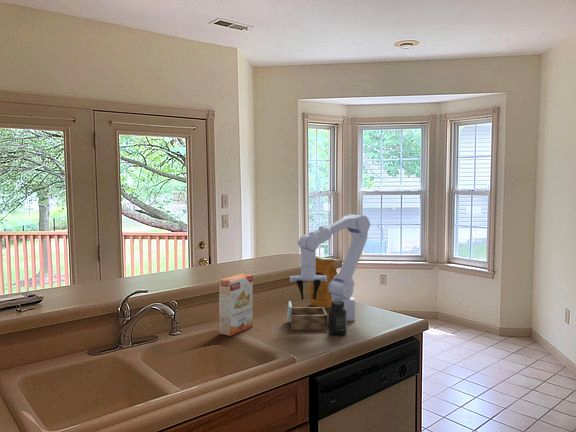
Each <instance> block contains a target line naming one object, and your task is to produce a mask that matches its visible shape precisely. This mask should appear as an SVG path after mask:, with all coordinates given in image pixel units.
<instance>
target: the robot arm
mask: <svg viewBox="0 0 576 432" xmlns="http://www.w3.org/2000/svg"><path fill="white" fill-rule="evenodd" d="M370 227H371V222H370V220H369V217H368V216H367V215H365V214H363V215H361V214H353V213H349V214H347V215H344V216H342V218H340V219H339V220H337V221H335V222H333V223H332V224H330V225H329V226H324V225H323V226H322V225H320V226H319V227H318V228H317V229H316V230H313V231H309V234H302V235H301V236H300V238H299V239H298V242H297V245H298V247H299V248H300V275H290V276H289V282H291V283H293V282H296V285H297V287H298V289H299V293H300V297H301V301H304V298H305V297H304V282H310V281H313V287H314V291H313V299H314V300H315V298H316V293H317V291H318V288H319V286H320V284H321V282H320V281H327V276H322V275H316V257H317V256H316V251H317V249H318V248H319V245H321V244H323V243H325V242H327V241H329V240H331V238H332V236H333V235H334V234H336V233H338V232H340V231H343V230H344V229H346V230H347V231H348V232H349V233H350V235H351V237H352V241H351V243H350V245H349V249H348V250H347V252H346V253H347V254H346V255H345V258H344V261H343V263H342V265H341V268H340V270H339V272H337V275H335V276H334V278H333V280H332V281H331V282H330V283H329V286H328V290H329V292H330V293H331V296H332V301H342V302H344V309H345V310H346V311H347V322H353V321H354V322H355V321H356V301H355V297H353V296H352V295H353V293H354V286H355V281H354V278H353V275H354V274H355V270H356V268H357V266H358V263H359V261H360V259H361V256H362V253H363V250H364V248H365V245H366V243H367V241H368V235H369V234H368V232H369V230H370Z"/></svg>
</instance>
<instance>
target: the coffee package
mask: <svg viewBox="0 0 576 432" xmlns="http://www.w3.org/2000/svg"><path fill="white" fill-rule="evenodd" d="M335 262H336V260H335V259H332V258H331V259H327V258H324V259H323V258H320V257H317V256H316V275H322V276H327V281H320V282H321V284H320V286H319V288H318V291H317V293H316V298H315V300H314V299H313V291H314V287H313V281H309V291H308V292H309V306H312V307H324V308H325V310H326V309H331V308H332V307H331V302H332V296H331V293H330V292H329V290H328V286H329V283H330V282H331V281H332V280H333V278H334V276H335V275H337V274H338V271H337V268H336V266H335Z"/></svg>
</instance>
